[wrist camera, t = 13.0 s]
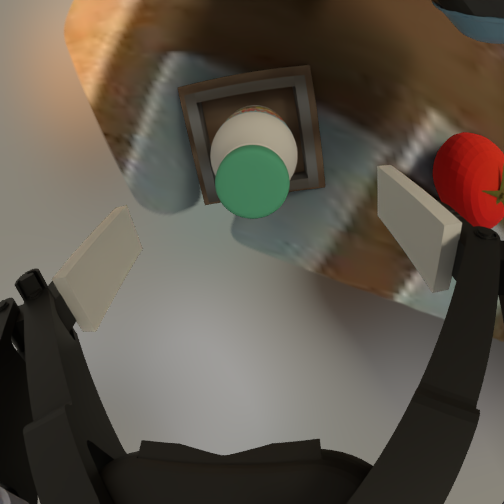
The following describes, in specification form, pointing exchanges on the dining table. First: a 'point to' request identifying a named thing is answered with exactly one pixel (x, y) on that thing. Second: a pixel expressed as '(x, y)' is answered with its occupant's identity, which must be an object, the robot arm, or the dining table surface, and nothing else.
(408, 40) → the dining table surface
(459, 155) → the tomato
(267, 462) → the robot arm
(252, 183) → the milk bottle
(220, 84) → the bottle stand
